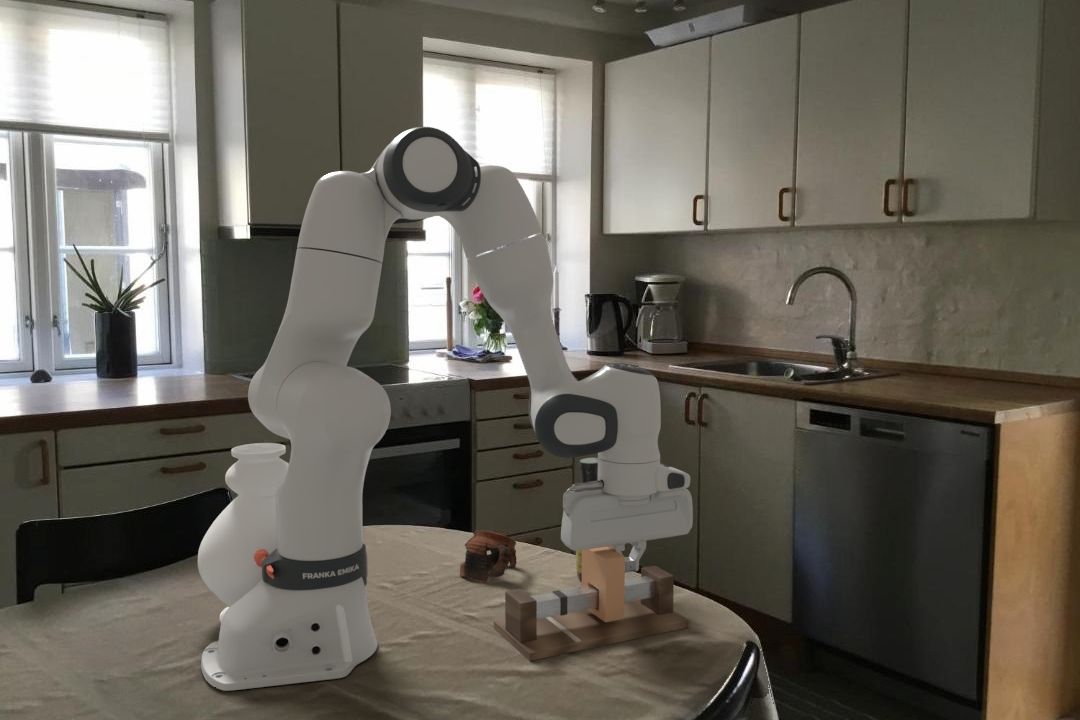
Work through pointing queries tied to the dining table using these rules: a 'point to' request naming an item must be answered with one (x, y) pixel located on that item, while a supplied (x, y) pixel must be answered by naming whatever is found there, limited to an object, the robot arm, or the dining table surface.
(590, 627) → the rod stand
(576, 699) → the dining table surface
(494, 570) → the broken clay pot
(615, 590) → the collar
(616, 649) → the dining table surface
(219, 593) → the decorative vase
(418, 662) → the dining table surface
